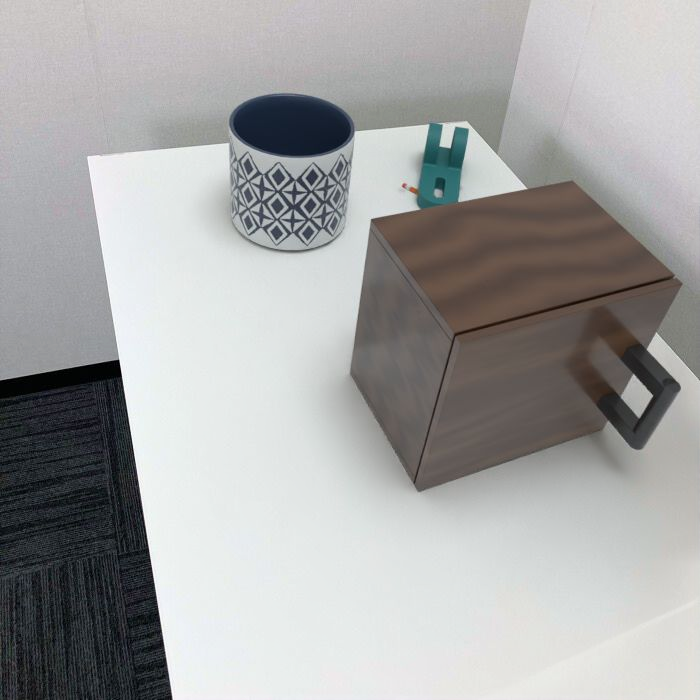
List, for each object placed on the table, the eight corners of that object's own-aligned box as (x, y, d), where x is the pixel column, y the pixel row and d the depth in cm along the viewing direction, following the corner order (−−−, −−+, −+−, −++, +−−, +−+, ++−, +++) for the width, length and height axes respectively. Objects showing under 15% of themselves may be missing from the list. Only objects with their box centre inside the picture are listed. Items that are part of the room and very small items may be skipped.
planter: (226, 186, 121) (223, 92, 110) (334, 183, 125) (342, 92, 113) (236, 256, 109) (233, 159, 97) (355, 250, 113) (367, 156, 101)
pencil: (404, 185, 127) (404, 182, 126) (492, 231, 120) (493, 227, 120) (401, 187, 126) (402, 184, 126) (490, 233, 120) (491, 229, 119)
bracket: (423, 155, 134) (431, 115, 128) (460, 161, 134) (469, 121, 128) (415, 211, 121) (422, 170, 116) (455, 218, 121) (465, 177, 116)
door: (639, 472, 88) (732, 329, 71) (448, 544, 79) (502, 399, 62) (598, 423, 93) (676, 277, 76) (414, 485, 84) (455, 335, 67)
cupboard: (596, 422, 93) (675, 274, 76) (413, 484, 84) (454, 332, 67) (519, 327, 104) (572, 179, 87) (349, 373, 95) (370, 218, 78)
